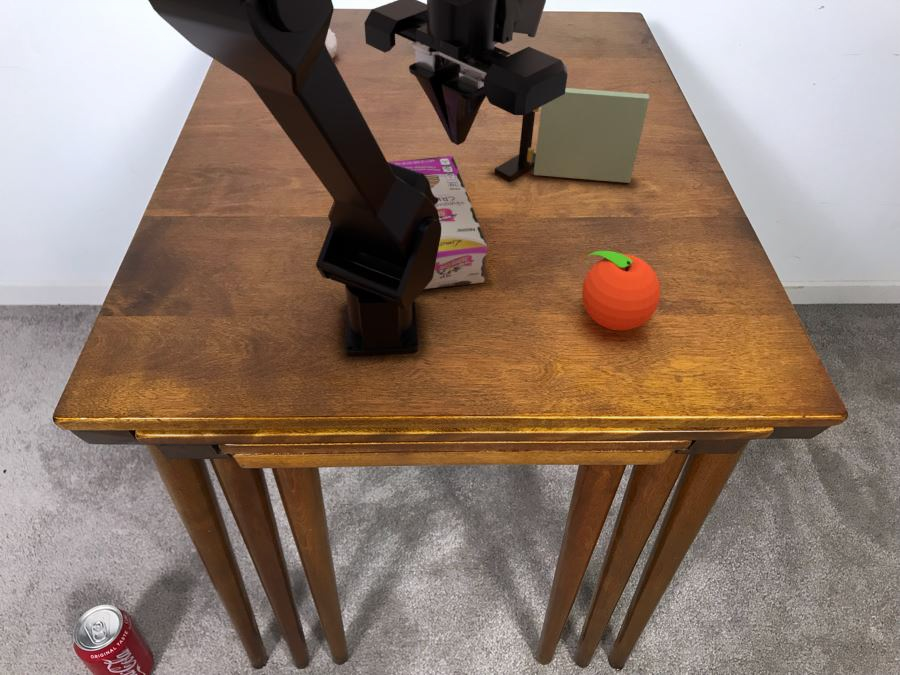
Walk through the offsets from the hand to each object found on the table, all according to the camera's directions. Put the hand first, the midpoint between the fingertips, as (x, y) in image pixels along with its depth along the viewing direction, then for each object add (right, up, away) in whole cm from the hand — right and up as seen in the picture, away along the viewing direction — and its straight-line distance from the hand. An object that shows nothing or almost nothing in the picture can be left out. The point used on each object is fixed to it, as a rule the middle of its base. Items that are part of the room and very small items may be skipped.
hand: (458, 142), depth 66 cm
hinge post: (+8, +2, +19) cm, 20 cm away
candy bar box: (-6, 0, +13) cm, 14 cm away
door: (+15, 0, +18) cm, 23 cm away
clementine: (+14, -16, +1) cm, 22 cm away
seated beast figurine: (-21, +23, +39) cm, 50 cm away
